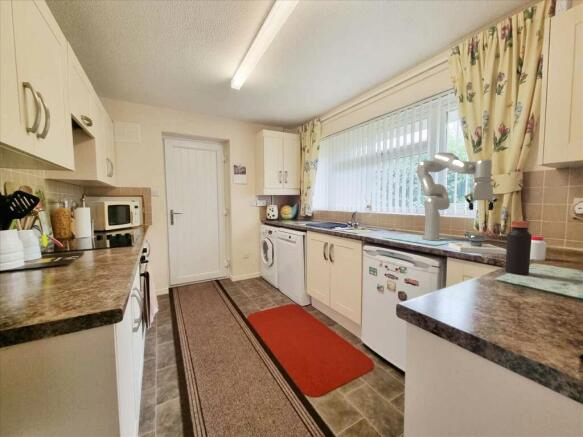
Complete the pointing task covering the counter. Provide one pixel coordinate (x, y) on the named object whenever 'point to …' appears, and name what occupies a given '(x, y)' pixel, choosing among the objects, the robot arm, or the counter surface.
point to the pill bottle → (538, 248)
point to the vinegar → (518, 248)
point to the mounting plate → (477, 248)
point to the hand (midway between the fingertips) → (480, 210)
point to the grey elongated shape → (475, 239)
